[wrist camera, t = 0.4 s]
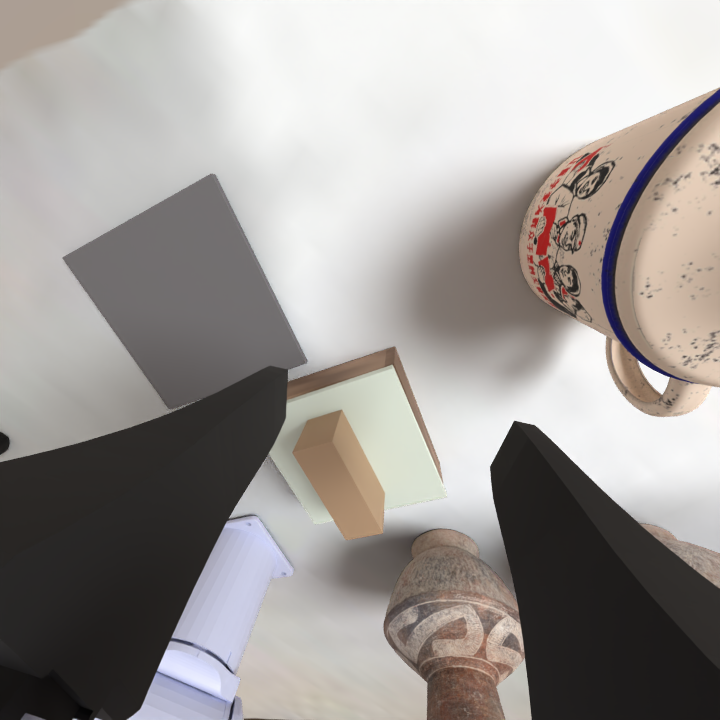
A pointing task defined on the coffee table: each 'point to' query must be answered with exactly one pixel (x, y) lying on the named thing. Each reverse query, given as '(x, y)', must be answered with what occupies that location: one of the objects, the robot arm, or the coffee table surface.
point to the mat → (187, 295)
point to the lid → (356, 453)
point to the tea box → (357, 369)
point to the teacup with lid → (639, 251)
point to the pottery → (473, 621)
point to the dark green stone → (3, 443)
